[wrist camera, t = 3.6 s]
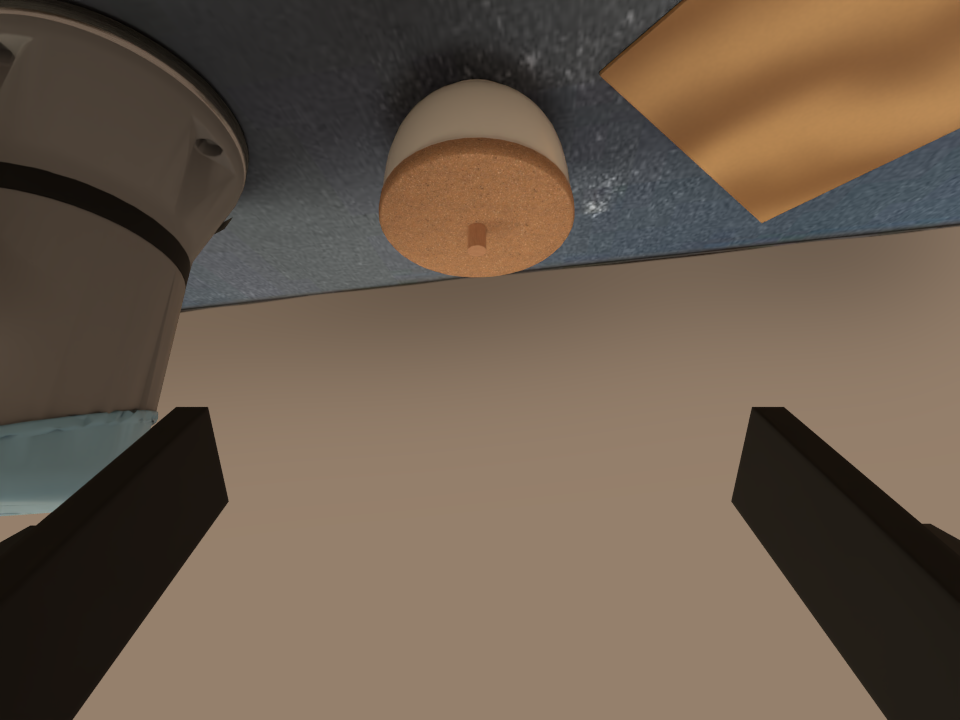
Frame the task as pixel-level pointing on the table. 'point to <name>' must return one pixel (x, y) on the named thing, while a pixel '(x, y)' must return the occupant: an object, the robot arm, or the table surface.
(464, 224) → the trinket box
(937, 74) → the cork mat
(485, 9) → the table surface
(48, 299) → the robot arm
